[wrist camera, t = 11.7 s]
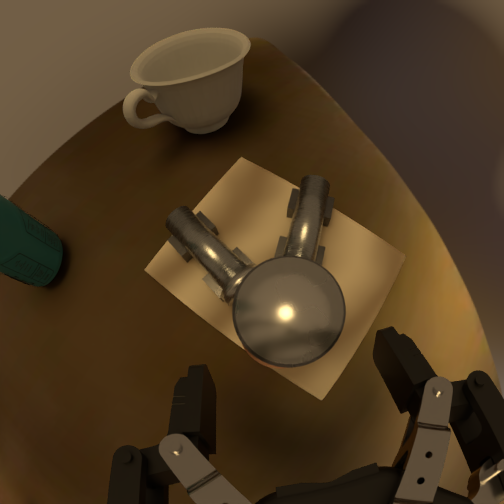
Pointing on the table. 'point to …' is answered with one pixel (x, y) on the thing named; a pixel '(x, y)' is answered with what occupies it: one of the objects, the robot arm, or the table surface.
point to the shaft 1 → (208, 252)
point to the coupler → (288, 311)
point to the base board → (264, 247)
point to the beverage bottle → (27, 247)
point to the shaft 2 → (307, 219)
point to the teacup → (190, 79)
